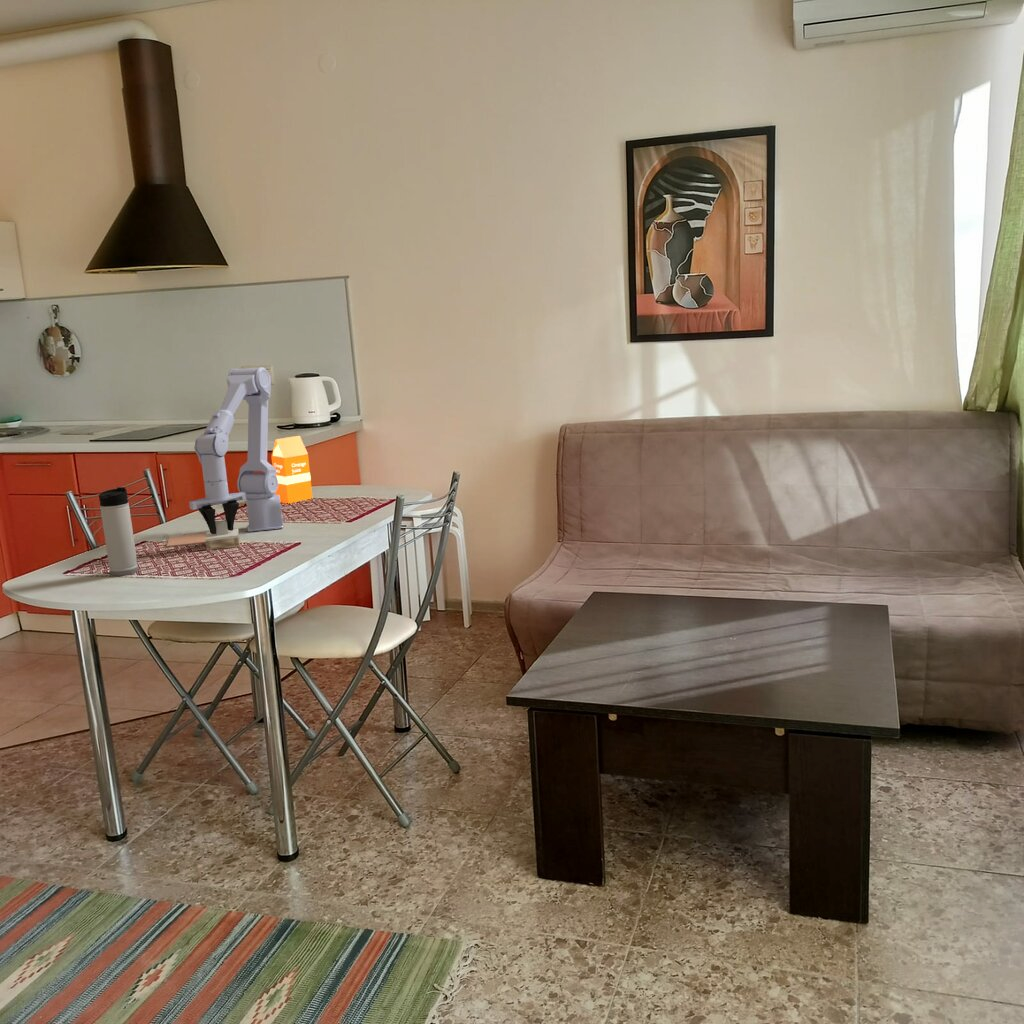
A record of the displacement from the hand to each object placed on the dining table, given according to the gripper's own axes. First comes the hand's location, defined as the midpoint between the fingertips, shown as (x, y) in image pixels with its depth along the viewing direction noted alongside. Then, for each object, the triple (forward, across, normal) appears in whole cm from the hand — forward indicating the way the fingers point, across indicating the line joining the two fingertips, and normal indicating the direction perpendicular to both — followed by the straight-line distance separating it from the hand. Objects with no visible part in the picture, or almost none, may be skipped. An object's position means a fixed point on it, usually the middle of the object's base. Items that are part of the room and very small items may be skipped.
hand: (221, 531), depth 253 cm
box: (+3, 0, 0) cm, 3 cm away
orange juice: (+4, -43, -38) cm, 58 cm away
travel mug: (+4, +28, +6) cm, 29 cm away
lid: (+1, 0, 0) cm, 1 cm away
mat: (+3, +3, -13) cm, 14 cm away
